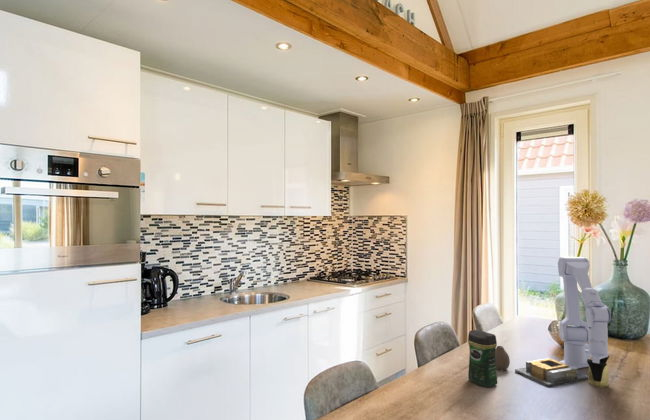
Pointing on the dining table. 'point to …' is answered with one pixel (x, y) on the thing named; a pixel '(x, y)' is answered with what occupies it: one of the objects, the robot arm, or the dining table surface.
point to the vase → (501, 359)
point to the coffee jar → (482, 358)
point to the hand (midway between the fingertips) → (598, 377)
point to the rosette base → (548, 382)
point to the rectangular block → (603, 381)
